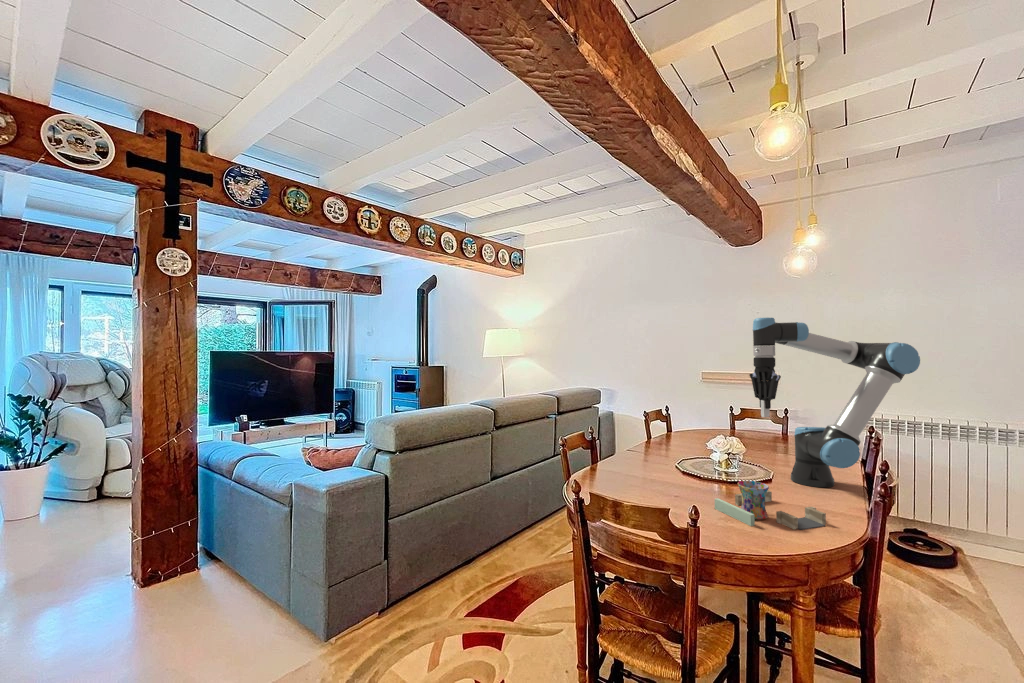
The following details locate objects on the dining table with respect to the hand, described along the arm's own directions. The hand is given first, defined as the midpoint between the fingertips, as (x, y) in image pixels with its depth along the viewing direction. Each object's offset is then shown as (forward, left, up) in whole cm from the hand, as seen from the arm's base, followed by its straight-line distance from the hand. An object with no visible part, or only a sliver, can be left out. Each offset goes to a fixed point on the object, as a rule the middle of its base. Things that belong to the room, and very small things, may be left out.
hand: (765, 416), depth 174 cm
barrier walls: (+15, +19, -29) cm, 38 cm away
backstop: (+32, +17, -29) cm, 46 cm away
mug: (+24, +18, -30) cm, 42 cm away
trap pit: (+15, +29, -29) cm, 44 cm away
